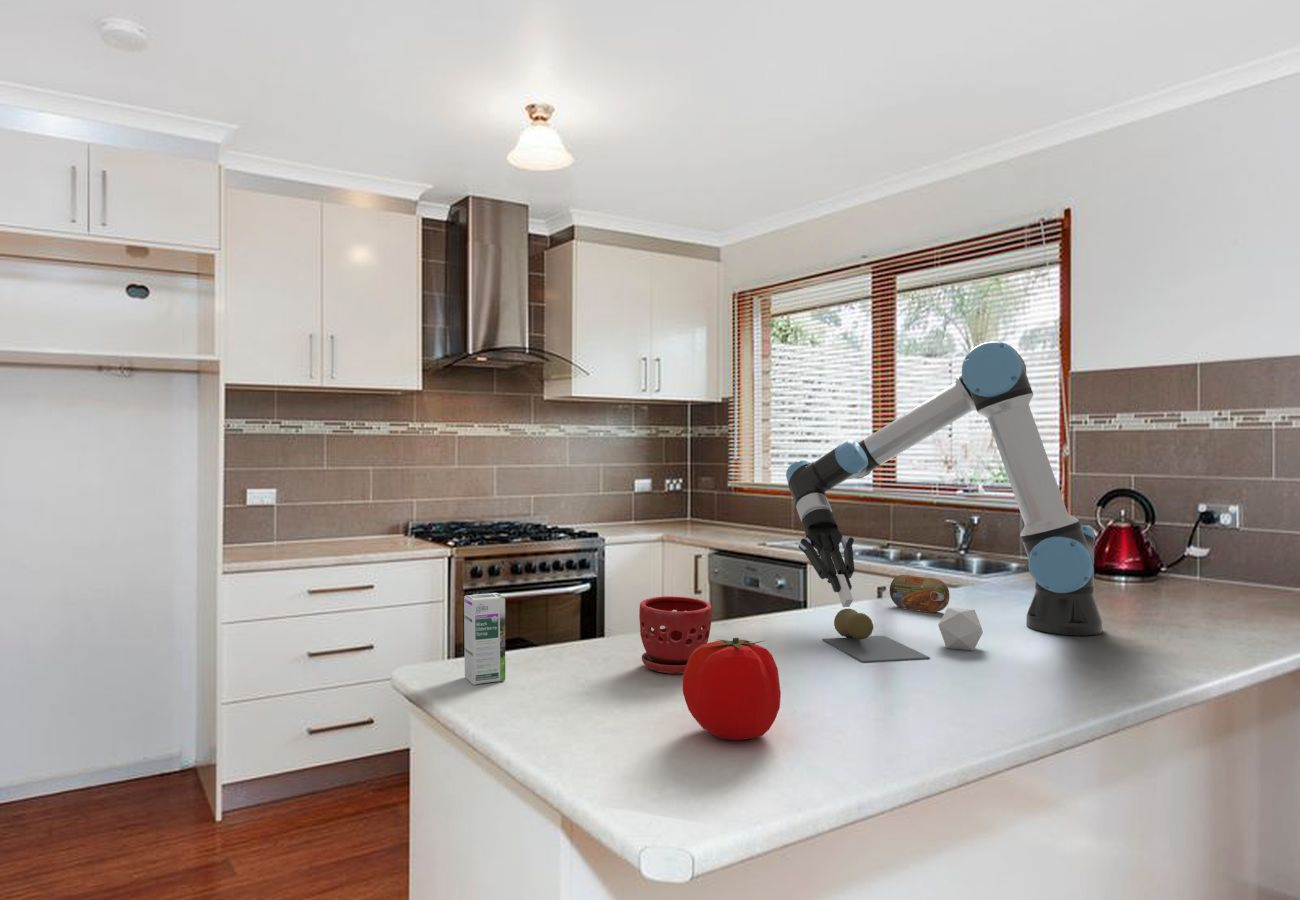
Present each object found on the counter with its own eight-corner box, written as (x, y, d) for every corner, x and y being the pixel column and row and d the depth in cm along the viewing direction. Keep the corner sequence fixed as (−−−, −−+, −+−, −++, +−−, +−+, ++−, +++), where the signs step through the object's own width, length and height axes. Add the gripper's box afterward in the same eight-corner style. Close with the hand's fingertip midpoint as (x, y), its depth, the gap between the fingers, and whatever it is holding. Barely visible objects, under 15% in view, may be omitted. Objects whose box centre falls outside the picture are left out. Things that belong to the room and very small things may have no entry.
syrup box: (472, 685, 141) (473, 599, 141) (463, 676, 147) (463, 593, 146) (505, 681, 144) (506, 596, 144) (495, 672, 149) (495, 591, 149)
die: (986, 648, 171) (960, 606, 175) (997, 636, 163) (971, 592, 168) (950, 664, 170) (925, 621, 175) (960, 652, 162) (934, 608, 167)
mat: (822, 640, 175) (822, 638, 175) (884, 637, 178) (884, 635, 178) (862, 662, 157) (862, 660, 157) (930, 658, 160) (930, 657, 160)
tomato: (779, 756, 110) (780, 652, 110) (675, 749, 113) (675, 647, 113) (781, 718, 126) (782, 626, 126) (690, 712, 128) (690, 622, 128)
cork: (868, 622, 178) (883, 626, 167) (849, 643, 177) (863, 648, 166) (847, 602, 178) (861, 604, 167) (828, 623, 178) (840, 627, 167)
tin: (888, 606, 211) (889, 572, 211) (895, 604, 214) (895, 571, 214) (944, 615, 200) (945, 580, 200) (951, 613, 203) (951, 578, 202)
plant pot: (628, 673, 149) (628, 606, 149) (653, 656, 161) (653, 593, 161) (699, 681, 145) (699, 611, 144) (719, 662, 157) (719, 598, 157)
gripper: (838, 527, 199) (870, 612, 182) (786, 528, 196) (814, 614, 180) (848, 506, 193) (882, 592, 177) (794, 507, 191) (824, 594, 175)
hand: (848, 603), depth 179 cm, fingers closed
